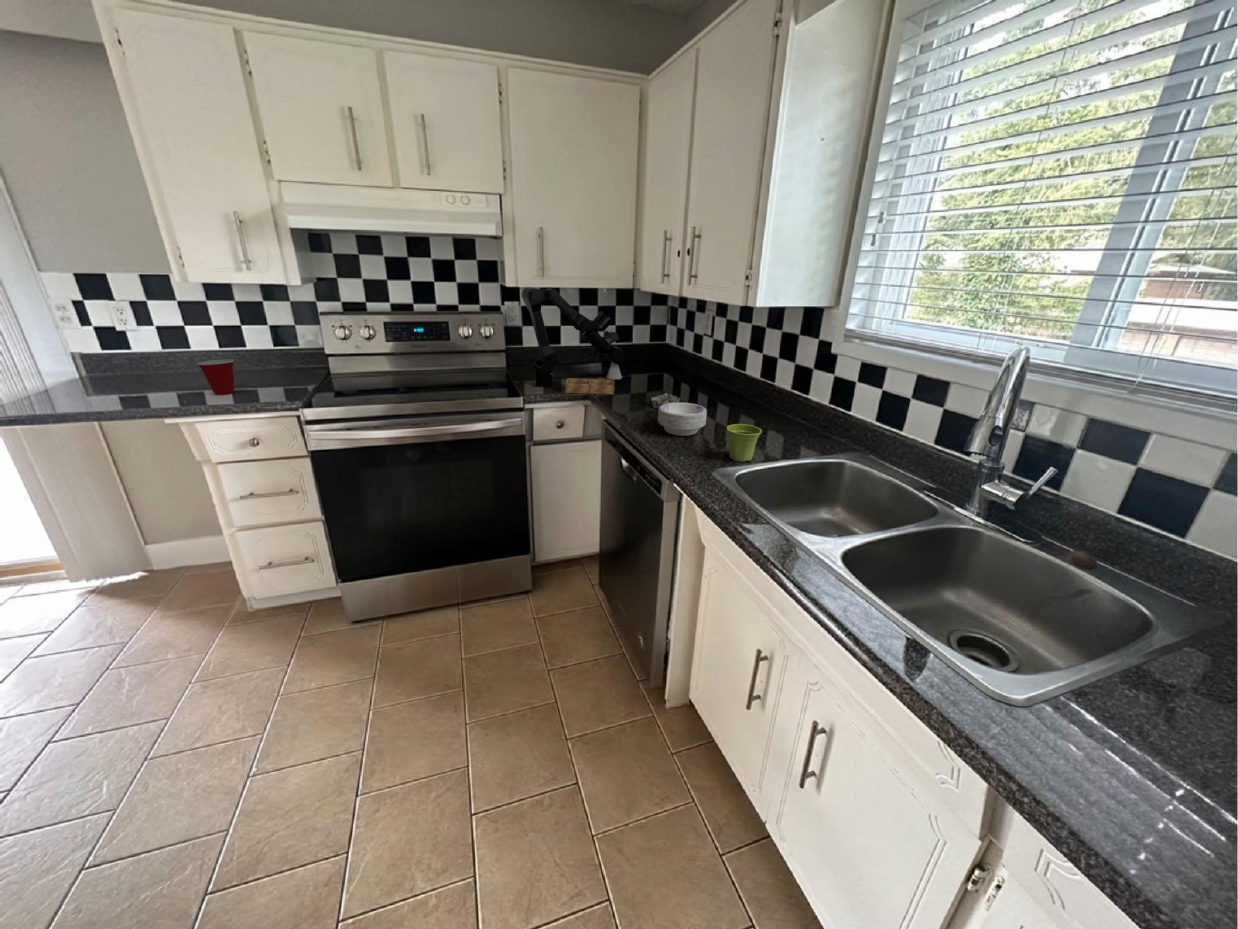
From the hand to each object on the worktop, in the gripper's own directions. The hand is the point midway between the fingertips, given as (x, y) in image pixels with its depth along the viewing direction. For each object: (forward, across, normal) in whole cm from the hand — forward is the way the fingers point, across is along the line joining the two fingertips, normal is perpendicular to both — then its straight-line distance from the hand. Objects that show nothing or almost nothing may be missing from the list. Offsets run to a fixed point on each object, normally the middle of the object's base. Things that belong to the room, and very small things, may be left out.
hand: (617, 363), depth 227 cm
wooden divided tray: (-11, -16, +20) cm, 28 cm away
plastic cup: (-100, +33, +110) cm, 152 cm away
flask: (+4, 0, +6) cm, 7 cm away
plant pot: (-8, -101, +18) cm, 103 cm away
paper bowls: (-9, -75, +19) cm, 78 cm away
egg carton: (0, -48, +10) cm, 49 cm away
